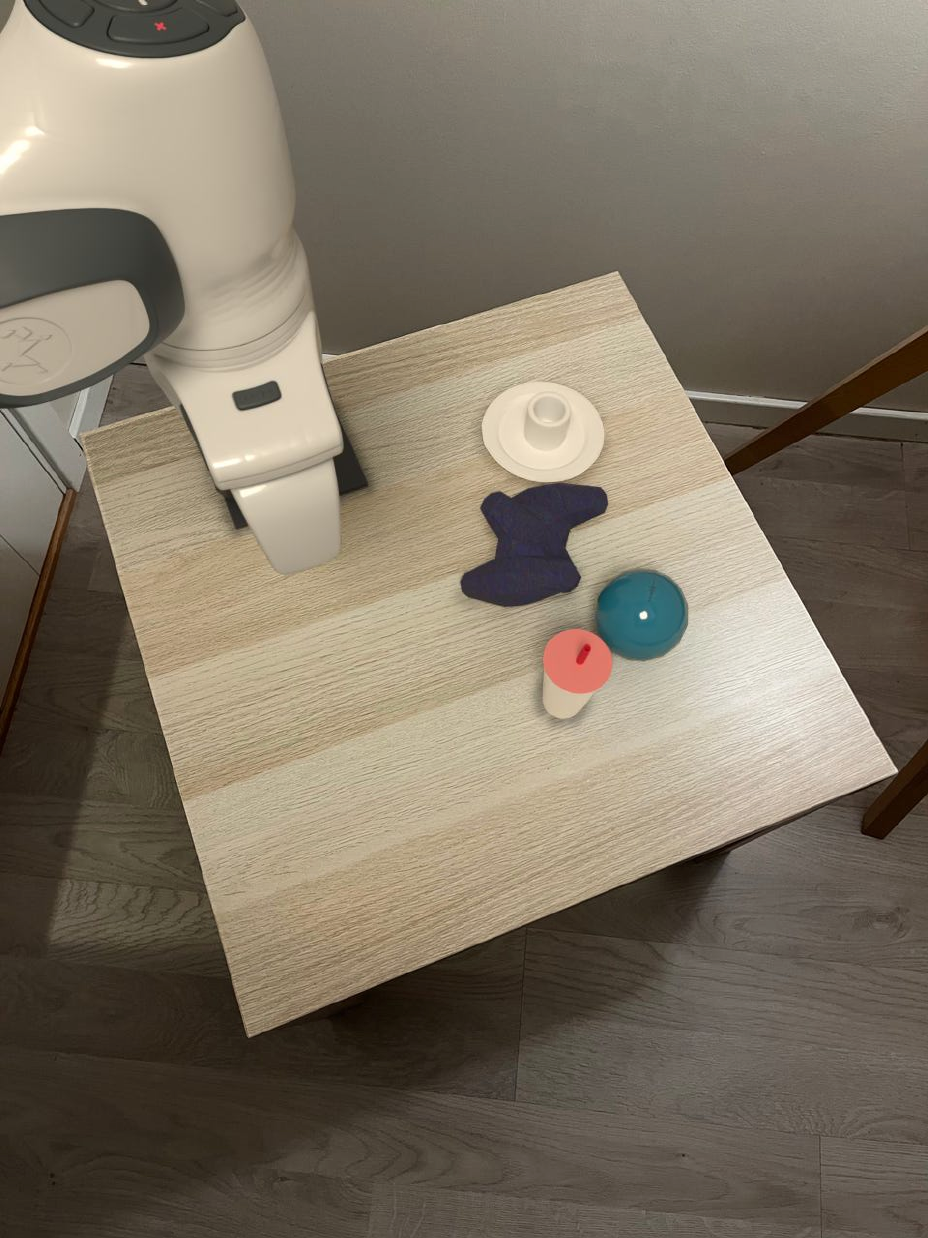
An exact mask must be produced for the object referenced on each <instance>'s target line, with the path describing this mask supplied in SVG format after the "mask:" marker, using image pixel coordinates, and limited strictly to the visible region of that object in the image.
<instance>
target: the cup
mask: <svg viewBox="0 0 928 1238" xmlns="http://www.w3.org/2000/svg"><path fill="white" fill-rule="evenodd" d="M611 652H612V651H611V650H610V649H609V648H608V647H607V645H606V644H605V642H604V641H603V640H602V639H601V638H600V637H599V635H597V634H595V633H593V632H591V631H588V630H585V629H582V628H581V629H580V628H572V629H566V630H563V631H560V632H559V633H557V634H555V635H553V637H552V638H551V639H550V640H549V641H548V642H547V644H546V645H545V648H544V651H543V656H542V662H543V679H542V680H543V681H542V704H543V707H544V709H545V711H546V712H547V713H548V714H549V715H551V716H553V717H554V718H557V719H561V720H562V719H563V720H564V719H571V718H573V717H574V716H576V715H578V713H580V711H581V709H582V708H584V707H585V705H586V704H587V703H588V702H589V700H591V698H592V697H593V696H594V694H596V692H597V691H598V690H599V689H600V688H602V687H603V686H604V685H605V684H606V683H607V682H608V680H609V678H611V677H610V676H611V675H612V671H613V656H612V653H611Z"/></svg>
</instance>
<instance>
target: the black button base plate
mask: <svg viewBox="0 0 928 1238" xmlns="http://www.w3.org/2000/svg"><path fill="white" fill-rule="evenodd" d="M337 416H338V421H339V425H340V428H341V432H342V437H343V451H342V453H341V454H339V455H336V456H334V457H333V462H334V466H335V471H336V477H337V482H338V490H339V497H340V496H343V495H346V494H349V493H352V492H355V491H358V490H361V489H364V488H368V487H369V481H368V480H367V478H366V475H365V473H364V470H363V468H362V466H361V464H360V461H359V459H358V458H357V454H356V453H355V450H354V448H353V446H352V443H351V441H350V438H349V437H348V435H347V432H346V430H345V428H344V425H343V423H342V420H341V419H340V416H339V414H338V413H337ZM208 472H209V474H210V477H211V480H212V482H213V486H214V488H215V491H216V492H217V494H219V495H221V496H222V497H223V499H224V502H225V505H226V507H227V510H228V513H229V515H230V517H231V520H232V523H233V526H234V528H235V530H240V529H243V528H246V527H249V525H248V523H247V522H246V520H245V518H244V516H243V514H242V512H241V510H240V508H239V506H238V504H237V502H236V500H235V499H234V497H233V494H232V492H231V490H230V489H228V490H220V489H219V488H217V487H216V485H215V483H214V481H213V478H212V476H211V473H210V471H208Z"/></svg>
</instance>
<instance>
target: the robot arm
mask: <svg viewBox="0 0 928 1238" xmlns="http://www.w3.org/2000/svg"><path fill="white" fill-rule="evenodd" d="M296 188H297V187H296V181H295V177H294V169H293V165H292V160H291V154H290V148H289V143H288V139H287V134H286V129H285V124H284V120H283V116H282V111H281V106H280V104H279V100H278V95H277V92H276V88H275V84H274V80H273V77H272V73H271V70H270V66H269V63H268V60H267V57H266V55H265V52H264V49H263V45H262V43H261V40H260V38H259V35H258V33H257V32H256V29H255V27H254V25H253V23H252V21H251V19H250V18H249V16H248V15H247V12H246V11H245V10H244V9H243V7H242V5H240V4H239V2H238V1H237V0H15V1H14V4H13V8H12V9H11V12H10V14H9V16H8V20H7V22H6V23H5V25H4V27H3V29H2V30H1V32H0V410H10V409H11V410H12V409H21V408H28V407H33V406H38V405H39V406H40V405H42V404H46V403H50V402H53V401H57V400H60V399H62V398H65V397H67V396H70V395H74V394H76V393H78V392H82V391H84V390H86V389H88V388H91V387H93V386H95V385H98V384H99V383H101V382H103V381H105V380H107V379H108V378H110V377H112V376H113V375H115V374H117V373H118V372H120V371H121V370H123V369H124V368H126V367H127V366H129V365H130V364H132V363H133V362H135V361H136V360H138V359H139V358H141V357H143V360H144V362H145V364H146V367H147V369H148V371H149V374H150V376H151V377H152V379H153V380H154V382H155V383H156V385H157V386H158V387H159V388H160V389H161V390H162V392H163V393H164V395H165V396H166V398H167V399H168V401H169V402H170V404H171V405H172V407H173V408H174V409H175V411H176V412H177V413H178V414H179V415H180V417H181V418H182V420H183V421H184V423H185V424H186V427H187V429H188V431H189V433H190V435H191V437H192V438H193V440H194V442H195V444H196V446H197V448H198V450H199V452H200V455H201V457H202V460H203V462H204V465H205V467H206V470H207V471H208V472H209V471H210V472H209V474H210V473H211V475H210V477H211V476H212V478H213V480H212V482H213V481H214V483H215V485H216V487H217V488H219V489H220V490H228V489H230V490H231V492H232V494H233V497H234V499H235V500H236V502H237V504H238V506H239V508H240V510H241V512H242V514H243V516H244V518H245V520H246V522H247V523H248V525H249V526H248V528H249V529H250V531H251V532H252V534H253V536H254V538H255V541H256V542H257V544H258V545H259V547H260V549H261V551H262V552H263V554H264V557H265V558H266V560H267V561H268V564H269V565H270V566H271V568H272V569H273V570H274V571H275V572H276V573H278V574H279V575H292V574H299V573H301V572H304V571H308V570H312V569H314V568H317V567H320V566H322V565H325V564H327V563H329V562H331V561H333V560H335V559H336V558H338V556H339V555H340V553H341V551H342V546H343V535H342V534H343V533H342V514H341V501H340V496H339V490H338V482H337V477H336V471H335V466H334V462H333V457H334V456H336V455H339V454H341V453H342V451H343V437H342V432H341V428H340V425H339V421H338V416H339V415H338V416H337V414H338V412H337V408H336V405H335V403H334V399H333V397H332V394H331V390H330V387H329V383H328V380H327V377H326V373H325V369H324V365H323V349H322V348H323V347H322V346H323V345H322V338H321V332H320V327H319V326H320V325H319V320H318V317H317V316H318V315H317V311H316V305H315V299H314V298H315V297H314V293H313V292H314V291H313V287H312V280H311V273H310V267H309V261H308V257H307V254H306V251H305V250H306V249H305V248H304V245H303V243H302V241H301V239H300V237H299V234H298V233H297V231H296V230H295V228H294V217H295V212H296V207H297V206H296V205H297V204H296V203H297V189H296ZM212 478H211V479H212ZM214 483H213V484H214Z"/></svg>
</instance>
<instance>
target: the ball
mask: <svg viewBox="0 0 928 1238" xmlns="http://www.w3.org/2000/svg"><path fill="white" fill-rule="evenodd" d="M593 623H594V625H595V629H596V631H597V634H598V637H599V638H601V639H602V640H603V641H604V642H605V644H606V645H607V647H608V648H609V650H610V652H612V653H614V654H615V655H617V656H619V657H621V658H624V659H625V660H627V661H637V662H642V663H643V662H647V661H651V660H656V659H660V658H663V657H664V656H666V655H668V653H670V652H671V651H672V650H673V649H675V648H676V647H677V646H678V645H679V644H680V643H681V641H682V639H683V637H684V634H685V632H686V631H687V629H688V626H689V603H688V600H687V599H686V597H685V594H684V592H683V589H682V588H681V586H679V584H678V583H676V581H675V580H673V578H671V576H669V575H667V574H666V573H663V572H662V571H659V570H657V569H653V568H644V567H636V568H635V567H634V568H631V569H627V570H623V571H620V572H618V574H616V575H614V576H613V577H612V578H611V579H610V580H608V581H606V582H605V583H604V585H603V587H602V588H601V590H600V592H599V594H598V596H597V598H596V599H595V602H594V613H593Z"/></svg>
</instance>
